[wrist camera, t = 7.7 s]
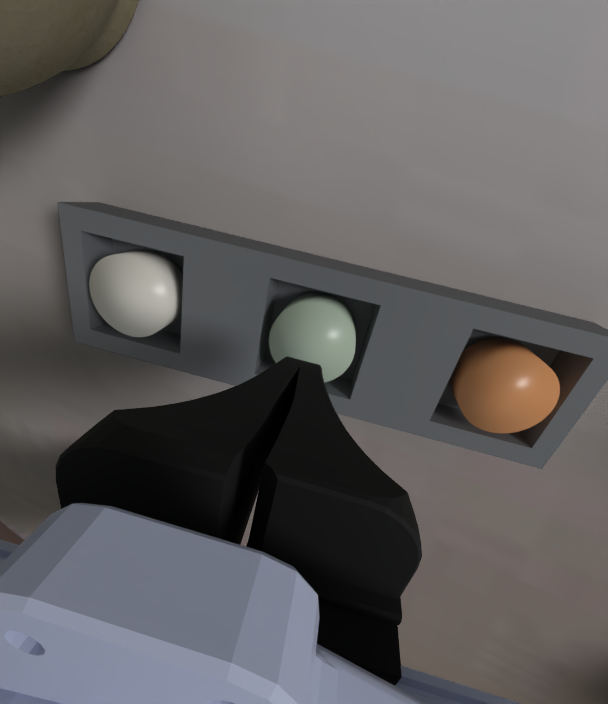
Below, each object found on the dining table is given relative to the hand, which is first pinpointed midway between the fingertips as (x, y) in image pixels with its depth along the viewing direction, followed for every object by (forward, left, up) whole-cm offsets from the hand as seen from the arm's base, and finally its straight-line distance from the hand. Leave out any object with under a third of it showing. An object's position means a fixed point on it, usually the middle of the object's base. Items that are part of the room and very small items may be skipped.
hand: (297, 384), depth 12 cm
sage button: (0, 0, -5) cm, 5 cm away
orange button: (+6, -6, -6) cm, 11 cm away
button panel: (0, 0, -6) cm, 6 cm away
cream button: (-6, +6, -6) cm, 11 cm away
